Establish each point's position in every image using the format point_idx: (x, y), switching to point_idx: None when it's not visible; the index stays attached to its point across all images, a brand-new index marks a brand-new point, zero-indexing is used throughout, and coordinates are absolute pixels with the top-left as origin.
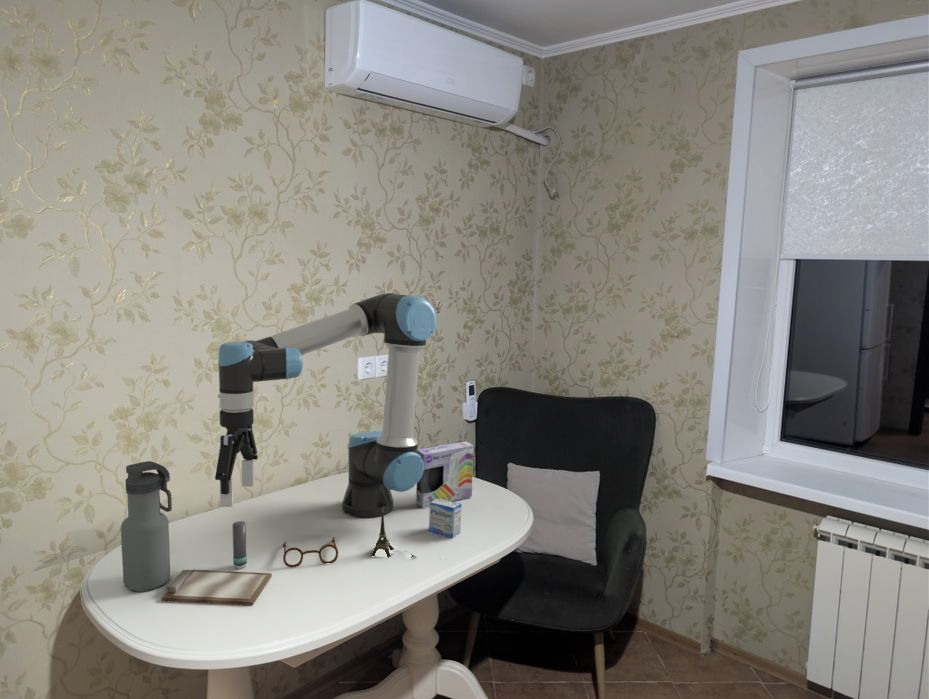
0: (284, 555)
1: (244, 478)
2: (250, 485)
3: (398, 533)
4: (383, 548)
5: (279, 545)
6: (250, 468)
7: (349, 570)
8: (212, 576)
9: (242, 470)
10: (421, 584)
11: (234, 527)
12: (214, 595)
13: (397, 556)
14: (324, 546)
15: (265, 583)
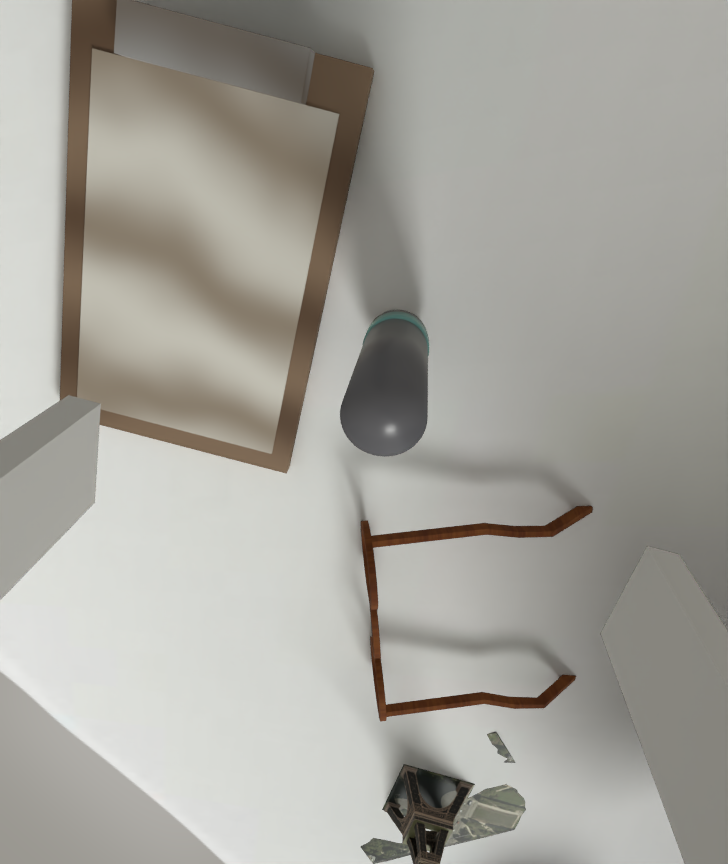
0: (365, 539)
1: (665, 627)
2: (612, 623)
3: (573, 858)
4: (403, 822)
5: (593, 491)
6: (682, 798)
7: (309, 701)
8: (275, 222)
9: (719, 691)
10: (203, 840)
11: (351, 386)
12: (98, 259)
13: (390, 825)
14: (378, 691)
15: (211, 451)
